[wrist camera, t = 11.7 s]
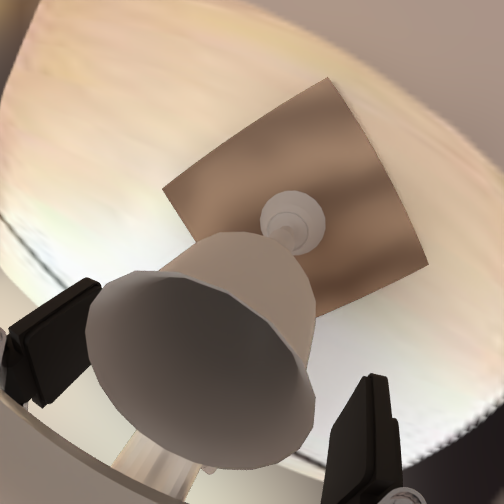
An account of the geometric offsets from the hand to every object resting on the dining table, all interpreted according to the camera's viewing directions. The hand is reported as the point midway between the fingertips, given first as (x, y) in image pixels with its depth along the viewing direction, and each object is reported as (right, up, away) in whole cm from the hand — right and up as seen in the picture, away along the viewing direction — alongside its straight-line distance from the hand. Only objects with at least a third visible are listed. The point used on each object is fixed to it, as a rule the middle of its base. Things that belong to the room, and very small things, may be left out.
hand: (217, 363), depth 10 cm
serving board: (+5, +7, +16) cm, 18 cm away
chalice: (+4, +6, +14) cm, 16 cm away
